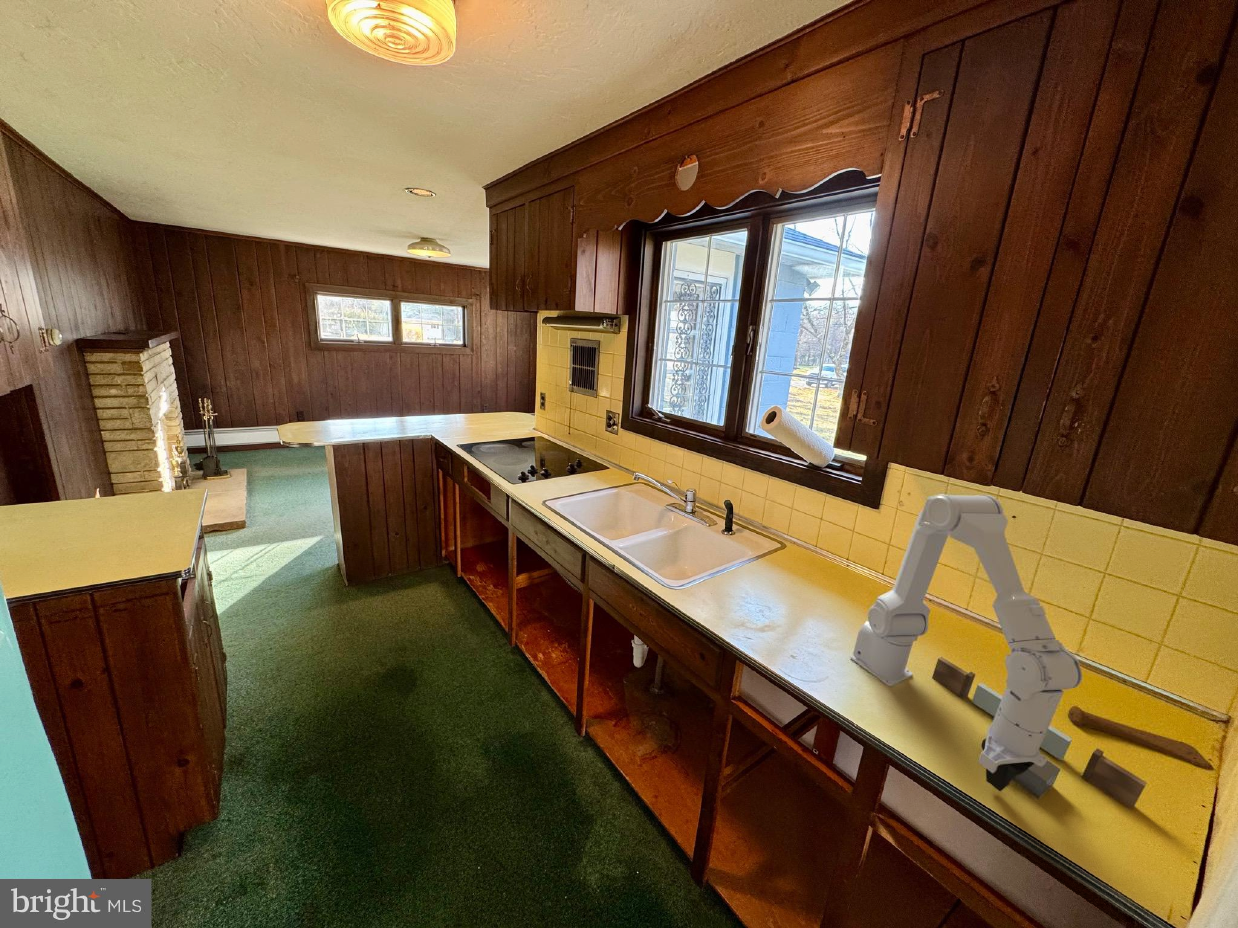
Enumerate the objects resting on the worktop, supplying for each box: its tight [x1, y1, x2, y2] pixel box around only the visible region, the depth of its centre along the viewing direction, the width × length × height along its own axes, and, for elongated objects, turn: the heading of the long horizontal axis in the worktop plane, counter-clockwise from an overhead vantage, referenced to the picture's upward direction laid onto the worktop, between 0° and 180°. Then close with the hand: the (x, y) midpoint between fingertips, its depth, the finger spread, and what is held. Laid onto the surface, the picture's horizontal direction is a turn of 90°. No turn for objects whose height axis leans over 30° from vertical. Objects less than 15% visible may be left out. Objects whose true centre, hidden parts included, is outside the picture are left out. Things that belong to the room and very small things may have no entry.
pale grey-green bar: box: [971, 682, 1073, 761], centre depth 85 cm, size 14×2×4 cm, turn 28°
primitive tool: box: [1067, 705, 1214, 771], centre depth 85 cm, size 19×6×4 cm, turn 70°
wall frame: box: [931, 656, 1148, 810], centre depth 84 cm, size 30×2×6 cm, turn 28°
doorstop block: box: [1012, 759, 1061, 800], centre depth 77 cm, size 8×5×4 cm, turn 28°
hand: (995, 784), depth 74 cm, fingers closed
